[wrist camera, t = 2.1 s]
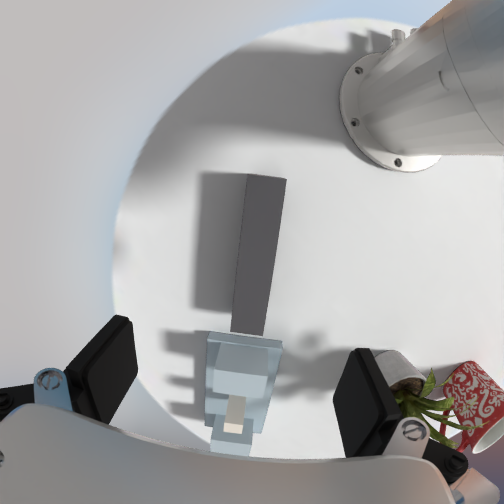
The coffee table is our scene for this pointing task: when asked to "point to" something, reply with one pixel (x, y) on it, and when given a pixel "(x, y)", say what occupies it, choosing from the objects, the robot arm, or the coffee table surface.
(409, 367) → the house plant
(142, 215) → the coffee table surface
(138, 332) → the coffee table surface
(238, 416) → the display stand
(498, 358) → the coffee table surface
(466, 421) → the mug
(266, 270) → the dark grey bar
